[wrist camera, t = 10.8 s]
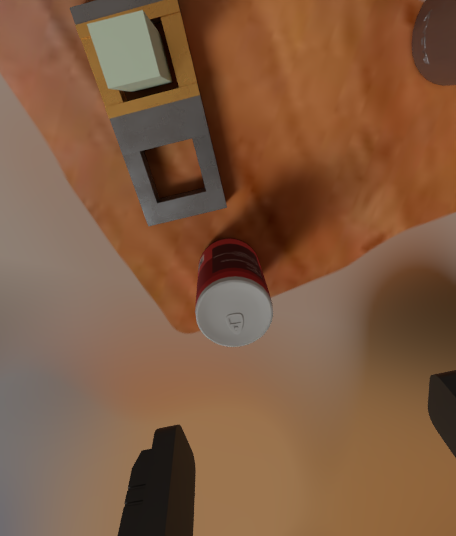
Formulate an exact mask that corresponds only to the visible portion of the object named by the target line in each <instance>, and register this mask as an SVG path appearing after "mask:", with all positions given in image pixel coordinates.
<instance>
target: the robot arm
mask: <svg viewBox="0 0 456 536" xmlns="http://www.w3.org/2000/svg"><path fill="white" fill-rule="evenodd" d="M412 54H413V58H414V62H415V65H416V67H417V68H418V70H419V72H420V73H421V74H422V75H423V76H424V77H425V78H426V79H427V80H429V81H430V82H432V83H434V84H438V85H456V0H426V1H425V3H424V4H423V6H422V8H421V10H420V12H419V14H418V16H417V19H416V22H415V26H414V29H413V36H412ZM428 412H429V416H430V419H431V421H432V423H433V425H434V427H435V428H436V430H437V431H438V433H439V434H440V436H441V437H442V439H443V440H444V442H445V443H446V444H447V446H448V447H449V449H450V450H451V452H452V453H453V455H454V456H455V457H456V370H454V371H449V372H444V373H439V374H434V375H431V377H430V384H429V397H428ZM194 496H195V461H194V456H193V452H192V450H191V448H190V445H189V443H188V441H187V439H186V436H185V434H184V432H183V430H182V427H181V426H180V425H174V426H169V427H164V428H159V429H157V430H156V431H155V434H154V439H153V444H152V449H149V450H143V451H141V453H140V455H139V457H138V459H137V460H136V462H135V464H134V466H133V468H132V471H131V476H130V481H129V485H128V491H127V495H126V499H125V507H124V509H123V513H122V518H121V523H120V528H119V532H118V536H193V521H194Z"/></svg>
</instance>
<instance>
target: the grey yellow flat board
mask: <svg viewBox="0 0 456 536" xmlns="http://www.w3.org/2000/svg"><path fill="white" fill-rule="evenodd" d="M70 10H71V13H72V16H73V19H74V22H75V24H76V25H75V26H76V29H77V32H78V34H79V37H80V39H81V41H82V44H83V46H84V49H85V52H86V55H87V57H88V60H89V63H90V66H91V69H92V71H93V74H94V77H95V80H96V82H97V85H98V88H99V91H100V93H101V96H102V99H103V102H104V104H105V109H106V112H107V114H108V117H109V119H110V121H111V124H112V127H113V129H114V132H115V135H116V138H117V140H118V143H119V146H120V149H121V152H122V154H123V157H124V160H125V163H126V165H127V168H128V171H129V174H130V176H131V179H132V182H133V185H134V187H135V190H136V193H137V196H138V199H139V201H140V204H141V207H142V210H143V212H144V215H145V218H146V221H147V223H148V226H152V225H156V224H160V223H164V222H169V221H173V220H177V219H181V218H185V217H189V216H194V215H198V214H202V213H206V212H210V211H215V210H219V209H223V208H227V205H226V200H225V196H224V192H223V187H222V183H221V179H220V175H219V171H218V166H217V162H216V158H215V154H214V150H213V145H212V141H211V137H210V133H209V129H208V124H207V120H206V116H205V112H204V108H203V103H202V99H201V95H200V91H199V87H198V82H197V78H196V74H195V70H194V66H193V61H192V57H191V53H190V49H189V45H188V40H187V36H186V32H185V28H184V24H183V19H182V15H181V11H180V7H179V3H178V0H95V1H92V2H88V3H85V4H81V5H78V6H74V7H71V8H70ZM140 10H143V11H144V12H145V14H146V15H147V16H148V18H149V19H150V21H151V22H152V23H153V25H155V24H158V23H162V25H163V28H164V32H165V36H166V40H167V44H168V47H169V51H170V55H171V59H172V63H173V66H174V70H175V74H176V78H177V82H178V86H179V88H177V89H173V90H169V91H165V92H161V93H158V94H154V95H150V96H146V97H143V98H139V99H135V100H131V101H127V99H126V96H125V93H124V91H122V90H114V89H108V86H107V83H106V80H105V77H104V74H103V71H102V68H101V65H100V62H99V59H98V56H97V53H96V50H95V47H94V44H93V41H92V38H91V35H90V32H89V29H88V26H87V24H89V23H93V22H97V21H101V20H105V19H109V18H113V17H117V16H121V15H125V14H129V13H133V12H137V11H140ZM191 138H192V139H193V143H194V147H195V150H196V154H197V158H198V162H199V166H200V169H201V173H202V177H203V181H204V185H205V188H201V189H197V190H193V191H189V192H185V193H181V194H176V195H172V196H168V197H164V198H159V195H158V192H157V189H156V186H155V183H154V180H153V177H152V174H151V171H150V168H149V165H148V162H147V159H146V156H145V153H144V150H147V149H151V148H155V147H159V146H163V145H167V144H171V143H175V142H179V141H183V140H187V139H191Z"/></svg>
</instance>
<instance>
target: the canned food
mask: <svg viewBox="0 0 456 536" xmlns="http://www.w3.org/2000/svg"><path fill="white" fill-rule="evenodd" d="M195 313H196V320H197V324H198V326H199V328H200V330H201V331H202V333H203V334H204V335H205V336H206V337H207V338H208V339H210V340H211V341H213V342H215V343H217V344H219V345H223V346H229V347H238V346H244V345H248V344H250V343H252V342H254V341H256V340H258V339H259V338H260V337H261V336H263V335H264V334H265V332H266V331H267V330H268V328H269V326H270V324H271V322H272V317H273V308H272V302H271V298H270V294H269V291H268V288H267V284H266V281H265V278H264V275H263V272H262V269H261V266H260V262H259V259H258V257H257V255H256V253H255V251H254V250H253V249H252V248H251V247H250V246H249V245H248V244H246V243H244V242H242V241H240V240H237V239H231V238H227V239H221V240H218V241H216V242H214V243H212V244H211V245H210V246H209V247H208V248H207V249H206V250H205V251H204V252H203V254H202V256H201V258H200V261H199V270H198V282H197V295H196V310H195Z"/></svg>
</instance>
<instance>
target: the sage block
mask: <svg viewBox="0 0 456 536" xmlns="http://www.w3.org/2000/svg"><path fill="white" fill-rule="evenodd" d="M87 26H88V29H89V32H90V35H91V38H92V41H93V44H94V47H95V50H96V53H97V56H98V59H99V62H100V65H101V68H102V71H103V74H104V77H105V80H106V83H107V86H108V89H114V90H122V91H130V92H136V91H140V90H144V89H148V88H152V87H156V86H161V85H165V84H169V83H173V82H172V78H171V74H170V70H169V66H168V62H167V58H166V54H165V50H164V46H163V42H162V38H161V34H160V33H159V31H158V30H157V29H156V27H155V26H154V25H153V23H152V22H151V21H150V19H149V18H148V16H147V15H146V14H145V12H144V11H143V10H140V11H137V12H133V13H129V14H125V15H121V16H117V17H113V18H109V19H105V20H101V21H97V22H93V23H89V24H87Z"/></svg>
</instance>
